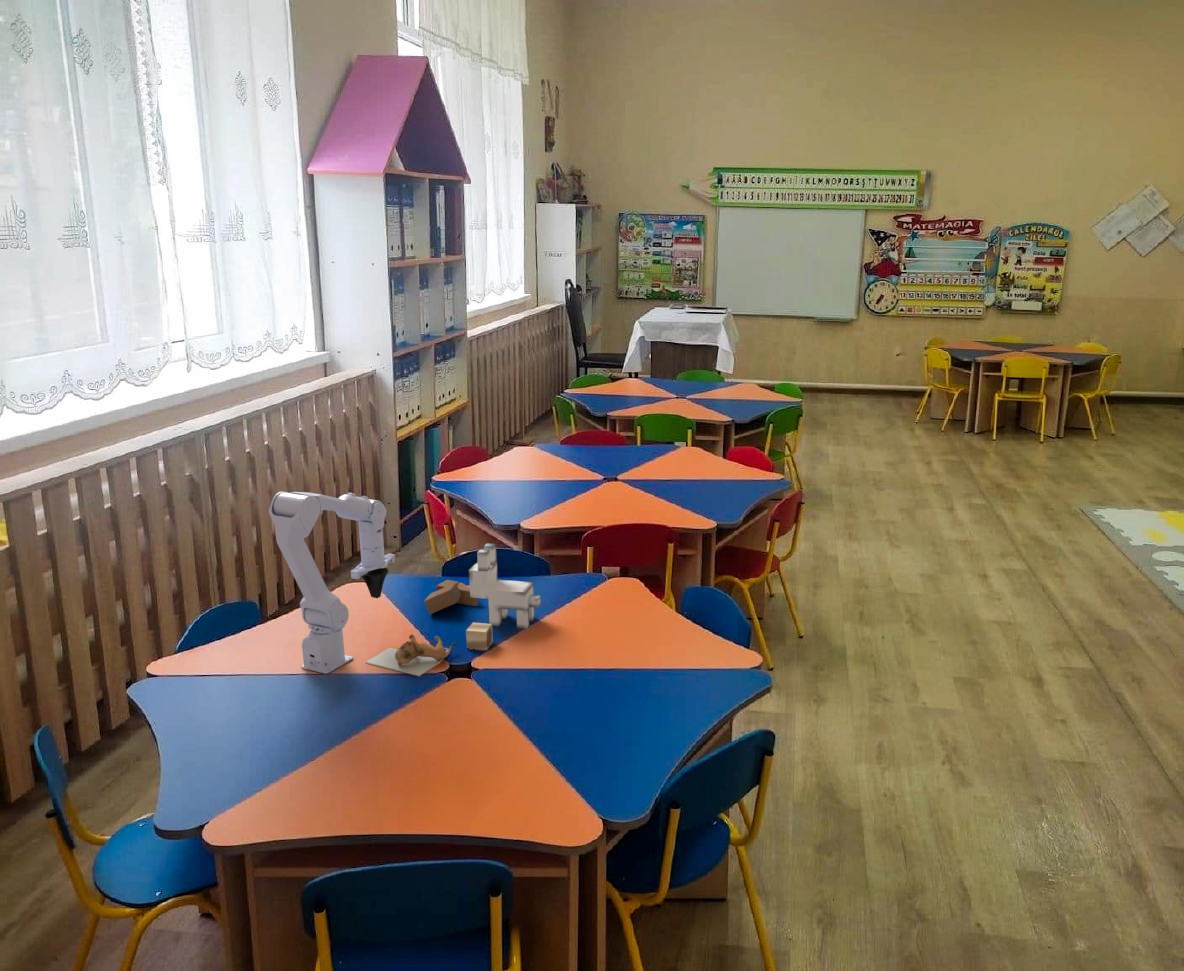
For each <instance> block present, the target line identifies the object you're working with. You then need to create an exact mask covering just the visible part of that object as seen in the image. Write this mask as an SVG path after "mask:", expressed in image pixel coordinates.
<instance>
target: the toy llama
mask: <svg viewBox="0 0 1184 971" xmlns="http://www.w3.org/2000/svg"><path fill="white" fill-rule="evenodd" d="M476 555H477V562H476V563H474V564H473V565H472V566H471V567H470V568H469V569H468V578H469V579H468V580H469V586H470V597H472V598H479V599H487V600H488V616H489V618H488V621H489V624H492V627H500V626H501V624H503V620H506V619H507V617H508V616H509V612H508V610H512V611H516V629H525V630H527V629H528V627H529V626H530V622H533V621H534V620H535V617H536V616H535V615H536V613H535V612H536V611H535V609H538V608H539V607H540V606H541V595H540V594H535V585H534V584H535V583H534V581H533V582H532V581H519V580H507V579H498V559H497V543H491V542H490V543H489V542H488V543H485V545H484V546H483V548H482V549H479V550H478V551H477V552H476Z"/></svg>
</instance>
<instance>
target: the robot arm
mask: <svg viewBox="0 0 1184 971" xmlns="http://www.w3.org/2000/svg"><path fill="white" fill-rule="evenodd" d="M323 511H329V512H331V511H332V512H335V513H336V515H337V517H339V518H341V519H346V520H351V521H355V522H358V536H359V546H360V547H359V548H360V559H361V562H360V563H359V564H358V565H357V566H355V568H354V569H351V570H350V577H351V579H354V580H360V579H362V580H363V581H364V583H365V585H366V587H367V589H368V591H369V594H370V597H371V598H373V599H379V598H380V597H381V596H382V591H383V588H384V587H383V586H384V582H385V579H386V577H387V575H388V573H389V569H388V568H387V567H388V566H389V565H388V564H390V563H392V564H393V563H395V562H396V554H393V553H387V554H385V546H384V533H383V529H384V527H385V519H386V516H387V508H386V507H385V504H383V502H382V501H381V500H379V499H378V500H377V499H371V498H369V497H368V496H366V495H362V496H356V493H353V492H347V494H342V495H340V496H339V497H334V496H330V495H325V494H321V493H313V492H307V491H306V492H304V491H303V492H302V491H290V492H288V491H279V492H277V493H275V495H274V496H273V498H272V499H271V503H270V506H269V509H268V514H269V516H270V518H271V520H272V523H273V524H274V525H273V526H274V533H275V540H276V544H277V546H278V548H279V550H280V552H281V554H282V556H283V558H284V560H285V562H286V564H287V566H288V567H289V569H290V572H291V574H292V576H293V578H294V579H295V582H296V584H297V586H298V587H299V590H300V591H301V592H300V593H301V594H302V596H303V597H302V599H301V600H300V602H299V606H300V608H301V609H300V610H301V617H302V620H303V622H304V623H305V624H307V625H308V629H310V632H309V633H308V635H307V636H306V637H304V639H303V640H302V644H301V647H302V658H303V664H302V665H301V668H302V669H305V670H309V671H313V672H317V673H321V674H329V673H331V672H334V670H336V669H338V668H339V667H341V666H343V665H345V664H347V663H348V662H351V661H352V660H353V659H354V657H353V656H351V655H347V654H346V653H345V642H344V631H343V629H344V628H345V626H346V624H347V623H348V621H349V618H350V617H349V609H348V607H347V605H346V604H344V603H343V602H342V601H341V599H340V597H338V596H337V595H335V594H334V593H332V592H331V591H330V590H329V589H328V587H327V584H326V583H325V581H324V579H323V577H322V574H321V573H320V571H319V568H318V566H317V564H316V562H315V560H314V558H313V555H312V554H311V551H310V549H309V547H308V545H307V544H306V540H305V538H307V537H309V535H310V533H311V532H312V530H313V528H314V526H315V524H316V523H317V520H318V519H319V516H320V515H321V516H322V515H323Z"/></svg>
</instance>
